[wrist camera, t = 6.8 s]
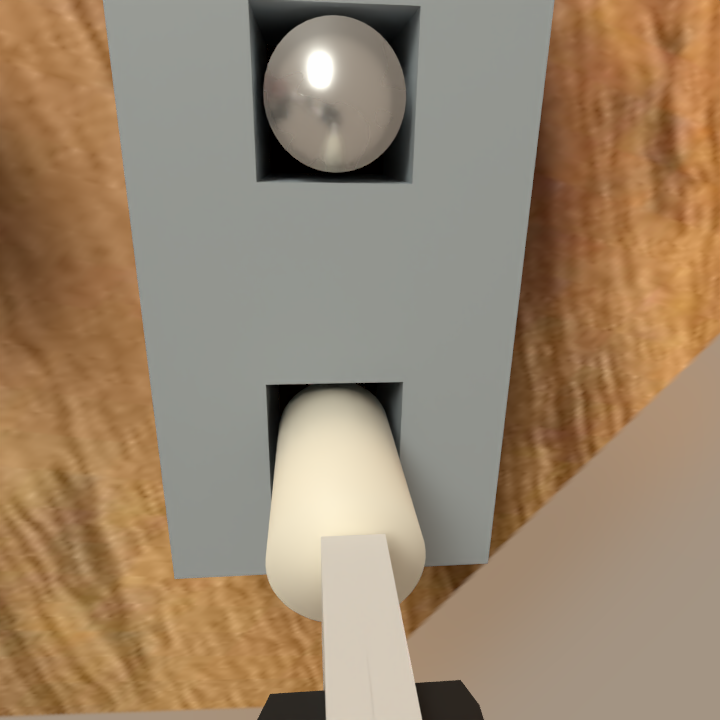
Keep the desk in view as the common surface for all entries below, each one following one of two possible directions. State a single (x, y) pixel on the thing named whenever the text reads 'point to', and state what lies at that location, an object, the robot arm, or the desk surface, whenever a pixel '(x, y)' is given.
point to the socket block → (327, 256)
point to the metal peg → (334, 93)
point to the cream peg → (337, 492)
